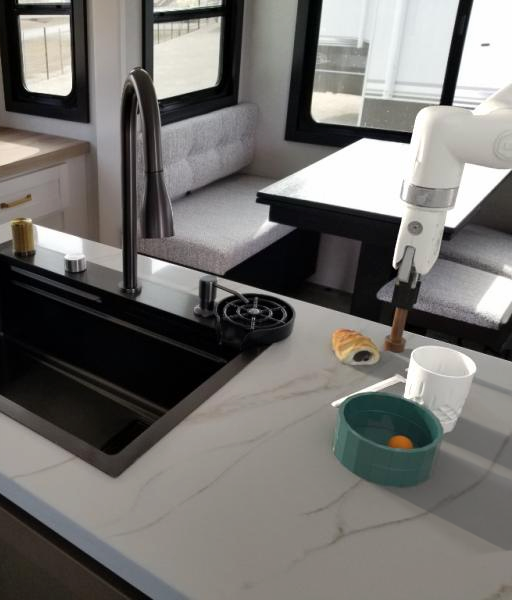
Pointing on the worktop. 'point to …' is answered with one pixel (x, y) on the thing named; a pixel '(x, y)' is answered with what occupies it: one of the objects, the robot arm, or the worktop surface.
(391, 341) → the brown wooden pestle
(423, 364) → the white cup
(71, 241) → the worktop surface
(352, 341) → the pastry
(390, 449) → the bowl
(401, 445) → the ball
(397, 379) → the fork
